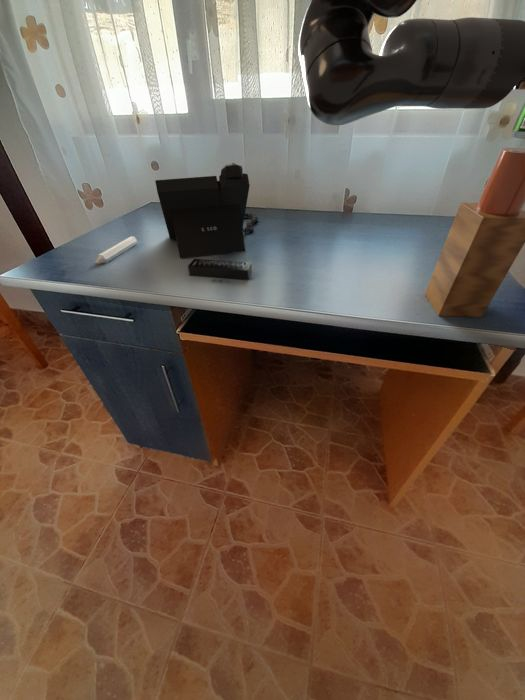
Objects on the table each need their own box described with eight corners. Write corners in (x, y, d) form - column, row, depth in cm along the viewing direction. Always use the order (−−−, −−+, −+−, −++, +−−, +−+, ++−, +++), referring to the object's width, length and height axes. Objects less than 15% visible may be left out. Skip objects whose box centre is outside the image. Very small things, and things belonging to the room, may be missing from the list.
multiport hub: (248, 279, 68) (247, 270, 67) (188, 275, 70) (187, 266, 69) (252, 271, 71) (251, 262, 70) (195, 267, 73) (193, 258, 72)
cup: (506, 204, 50) (535, 147, 44) (528, 216, 45) (562, 153, 40) (469, 204, 50) (493, 147, 45) (487, 215, 46) (515, 153, 40)
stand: (463, 295, 62) (509, 203, 50) (481, 317, 56) (539, 218, 44) (424, 294, 63) (460, 202, 51) (438, 315, 57) (483, 217, 45)
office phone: (255, 216, 103) (253, 146, 90) (279, 247, 82) (282, 162, 69) (168, 224, 97) (153, 151, 84) (172, 259, 77) (152, 170, 64)
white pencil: (96, 270, 74) (134, 245, 86) (100, 267, 73) (138, 242, 85) (88, 261, 73) (128, 237, 84) (92, 258, 72) (132, 234, 83)
